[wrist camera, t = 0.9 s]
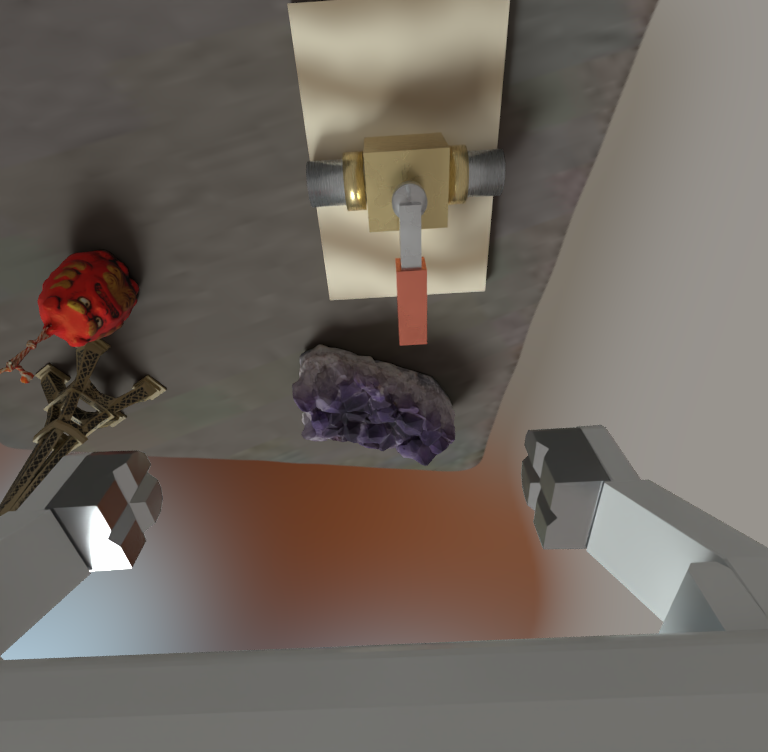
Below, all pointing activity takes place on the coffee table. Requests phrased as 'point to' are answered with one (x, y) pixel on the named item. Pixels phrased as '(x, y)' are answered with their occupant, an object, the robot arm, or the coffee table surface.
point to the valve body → (405, 177)
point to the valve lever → (411, 264)
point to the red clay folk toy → (82, 302)
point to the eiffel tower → (72, 418)
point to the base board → (401, 120)
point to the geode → (372, 404)
